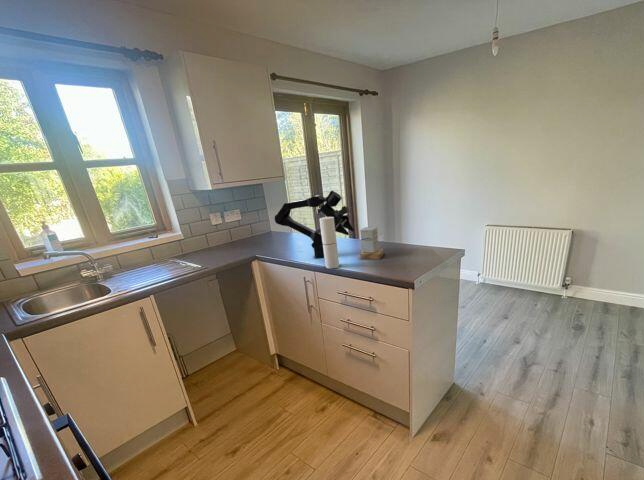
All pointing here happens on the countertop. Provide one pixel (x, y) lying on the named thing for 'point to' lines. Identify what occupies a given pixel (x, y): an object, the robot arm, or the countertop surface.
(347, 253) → the countertop surface
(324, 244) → the cylindrical container
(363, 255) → the tan flat block
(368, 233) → the white packaging box
